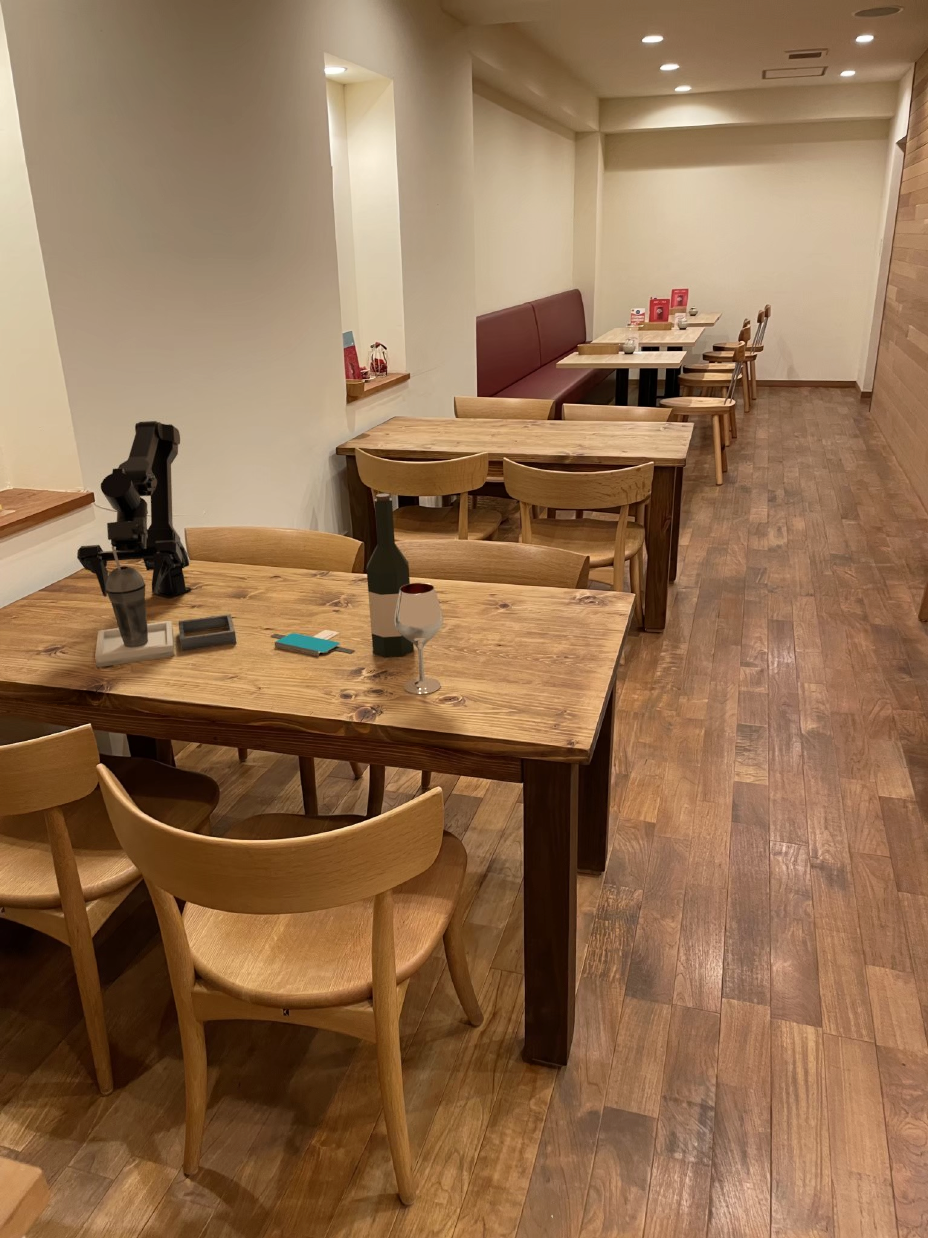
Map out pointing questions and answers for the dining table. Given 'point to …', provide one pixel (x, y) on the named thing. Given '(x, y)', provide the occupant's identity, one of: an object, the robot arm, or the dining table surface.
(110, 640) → the cream white tray
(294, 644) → the teal flat block
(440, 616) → the wineglass
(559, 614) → the dining table surface
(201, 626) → the grey-brown square frame
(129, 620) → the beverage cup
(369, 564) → the wine bottle
